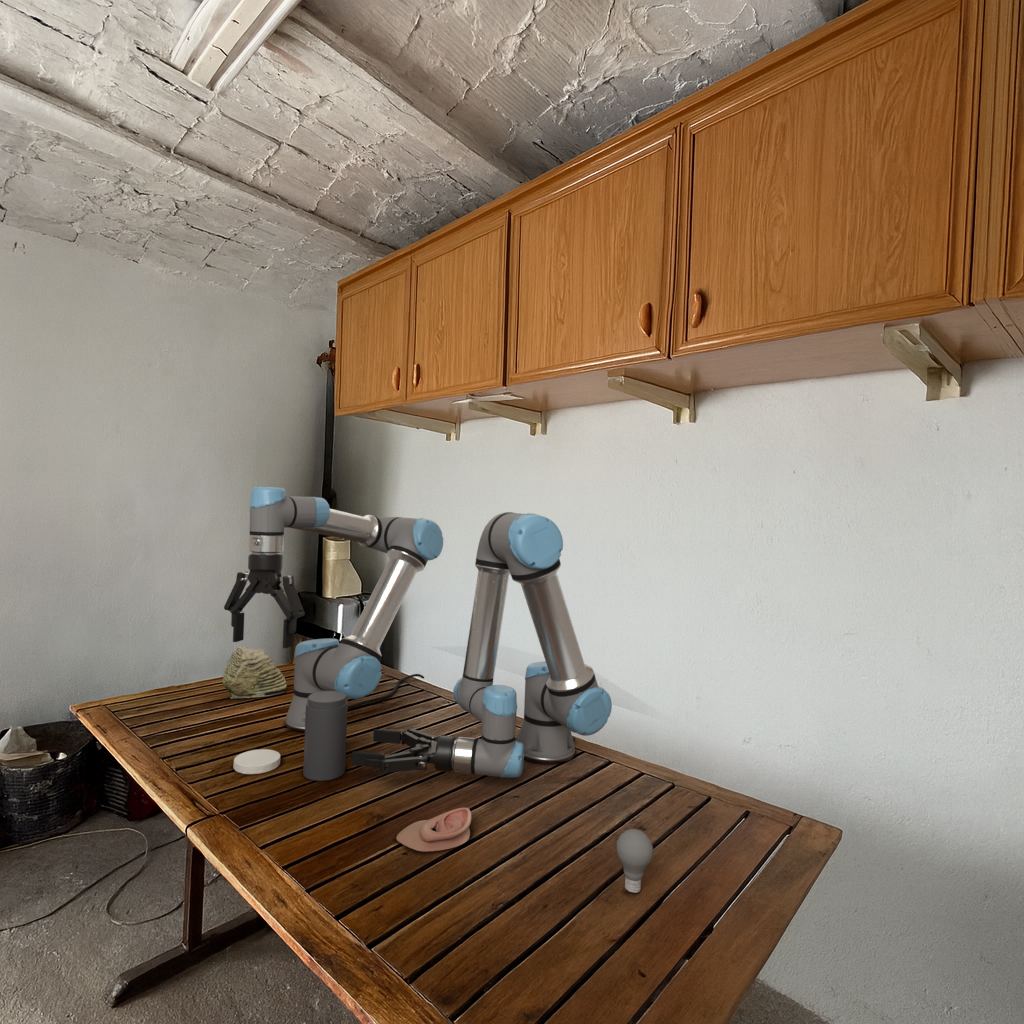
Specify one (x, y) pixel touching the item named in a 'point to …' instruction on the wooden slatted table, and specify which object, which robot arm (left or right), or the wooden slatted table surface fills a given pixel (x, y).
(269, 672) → the fossil
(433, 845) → the anatomical model
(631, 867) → the light bulb
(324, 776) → the jar
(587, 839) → the wooden slatted table surface
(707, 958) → the wooden slatted table surface
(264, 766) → the lid
